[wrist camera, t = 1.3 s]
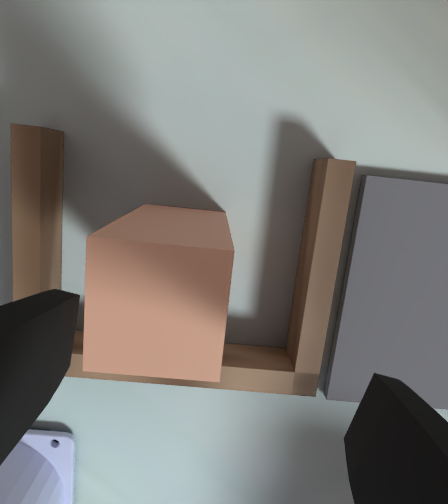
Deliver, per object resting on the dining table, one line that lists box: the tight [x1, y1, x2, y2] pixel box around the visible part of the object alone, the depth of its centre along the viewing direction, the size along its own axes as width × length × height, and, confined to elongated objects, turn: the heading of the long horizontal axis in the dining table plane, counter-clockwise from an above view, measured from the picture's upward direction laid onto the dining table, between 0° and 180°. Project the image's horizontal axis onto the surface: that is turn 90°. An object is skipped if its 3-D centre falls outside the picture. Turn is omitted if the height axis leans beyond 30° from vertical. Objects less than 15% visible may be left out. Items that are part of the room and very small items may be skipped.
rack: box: [11, 124, 356, 397], centre depth 19 cm, size 14×11×2 cm
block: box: [83, 204, 234, 382], centre depth 15 cm, size 4×4×9 cm
